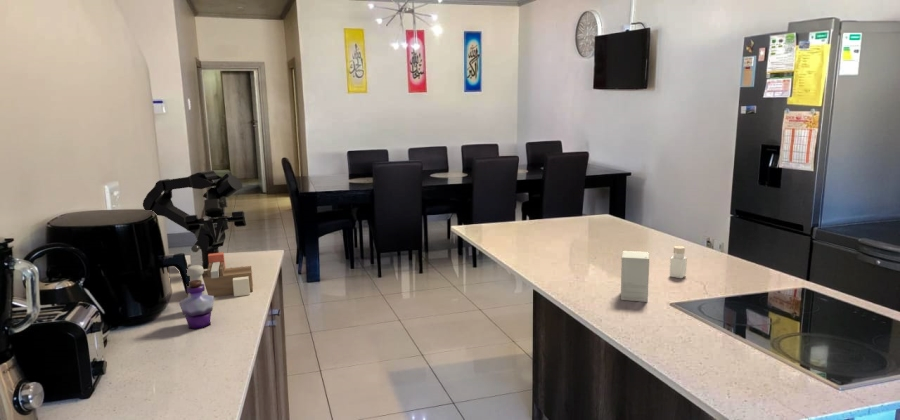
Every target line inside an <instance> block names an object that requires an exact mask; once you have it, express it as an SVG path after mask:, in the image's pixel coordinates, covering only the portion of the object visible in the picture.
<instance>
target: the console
mask: <svg viewBox="0 0 900 420" xmlns="http://www.w3.org/2000/svg"><path fill="white" fill-rule="evenodd" d="M211 268H212V263H209V266H208V268H206V269H207V270H204V272H203V280H204V284H205V287H206V290H207V293H208V295H210V296H214V297H219V296H229V295H234V289H233V278H238V277H247V276H249V287H250V293H253V292H254V291H253V290H254V283H253V282H254V281H253V272H252V265H246V266H238V267H237V266H236V267H227V268H226V267H225V269H224V262H221V264H220V273H219V278H211Z"/></svg>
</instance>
